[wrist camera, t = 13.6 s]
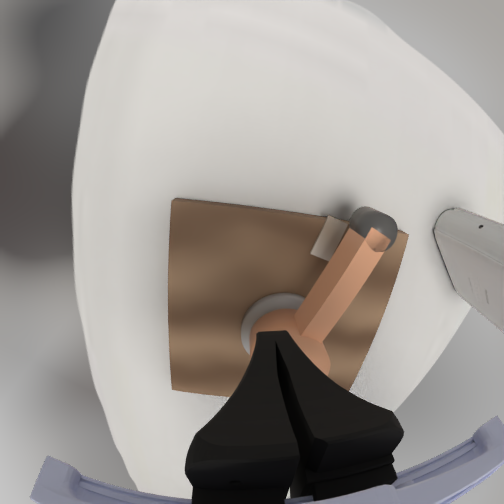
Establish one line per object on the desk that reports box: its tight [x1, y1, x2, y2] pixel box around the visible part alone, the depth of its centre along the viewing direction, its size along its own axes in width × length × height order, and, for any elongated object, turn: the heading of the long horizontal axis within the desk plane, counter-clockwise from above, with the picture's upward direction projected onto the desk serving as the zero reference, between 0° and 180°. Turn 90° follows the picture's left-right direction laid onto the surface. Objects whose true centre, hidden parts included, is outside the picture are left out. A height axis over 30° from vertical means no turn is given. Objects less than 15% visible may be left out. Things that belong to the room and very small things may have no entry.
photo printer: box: [434, 208, 504, 333], centre depth 15 cm, size 10×4×12 cm, turn 41°
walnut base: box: [168, 198, 409, 397], centre depth 21 cm, size 18×18×2 cm
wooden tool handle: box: [249, 207, 398, 376], centre depth 17 cm, size 14×5×4 cm, turn 152°
